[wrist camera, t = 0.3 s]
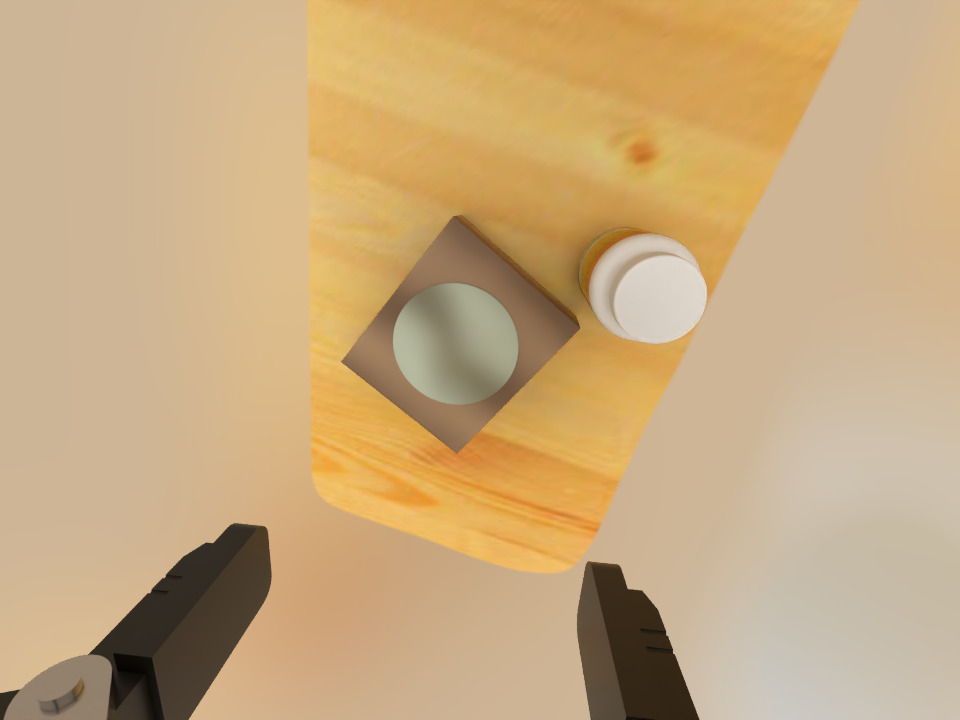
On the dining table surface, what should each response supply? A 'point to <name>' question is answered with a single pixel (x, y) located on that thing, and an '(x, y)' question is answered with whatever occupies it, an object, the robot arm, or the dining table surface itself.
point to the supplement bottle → (642, 285)
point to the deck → (460, 335)
